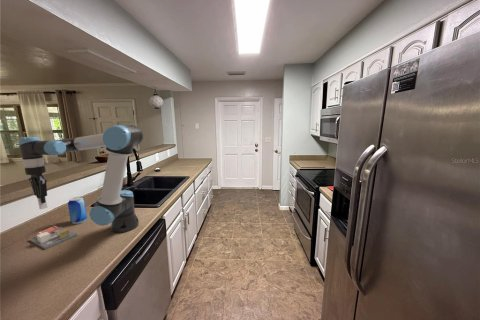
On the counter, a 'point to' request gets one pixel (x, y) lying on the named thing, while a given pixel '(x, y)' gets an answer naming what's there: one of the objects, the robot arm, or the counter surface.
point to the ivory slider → (43, 237)
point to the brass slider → (62, 233)
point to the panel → (52, 239)
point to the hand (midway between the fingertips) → (43, 208)
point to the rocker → (49, 230)
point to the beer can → (77, 210)
